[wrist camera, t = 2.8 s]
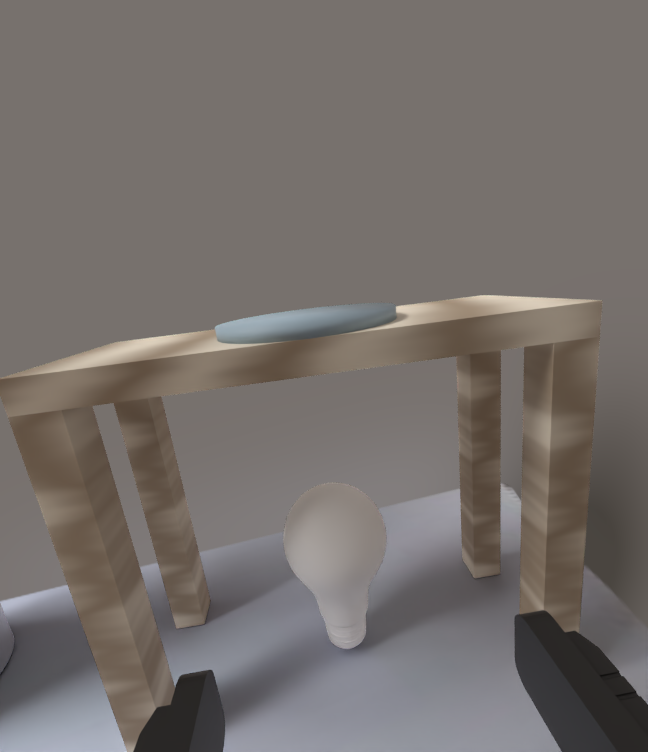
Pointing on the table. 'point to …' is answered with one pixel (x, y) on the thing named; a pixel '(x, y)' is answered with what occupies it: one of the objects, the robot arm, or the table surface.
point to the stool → (287, 361)
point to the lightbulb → (336, 555)
